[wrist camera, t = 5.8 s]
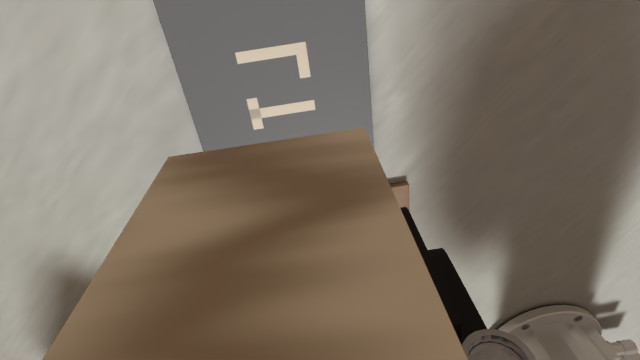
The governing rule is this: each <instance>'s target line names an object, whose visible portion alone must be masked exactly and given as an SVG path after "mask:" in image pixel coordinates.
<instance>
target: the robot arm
mask: <svg viewBox="0 0 640 360" xmlns="http://www.w3.org/2000/svg"><path fill="white" fill-rule="evenodd" d="M400 209H401V211H402V213H403V216H404V218H405V220H406V222H407V225H408V227H409V229H410V231H411V233H412V236H413V238H414V240H415V242H416V245H417V247H418V249H419V251H420V254H421V256H422V258H423V260H424V263H425V265H426V267H427V269H428V272H429V274H430V276H431V278H432V281H433V283H434V285H435V287H436V289H437V292H438V294H439V296H440V298H441V301H442V303H443V305H444V307H445V310H446V312H447V314H448V316H449V319H450V321H451V323H452V325H453V328H454V330H455V332H456V334H457V337H458V339H459V341H460V343H461V345H462V348H463V350H464V352H465V354H466V357H467V359H468V360H640V355H639V353H637V351H638V349H637V346H636V345H635V343H634V342H633V341H632V340H629V339H628V340H621V341H617V342H613V343H610V342H608V341H605V340H604V338H603V337H602V336H601V334H602V331H601V326H600V324H599V323H598V321H597V320H596V319H595V318H594V317H593V315H592V314H591V313H590V312H588V311H587V310H585V309H583V308H580V307H577V306H570V305H552V306H546V307H541V308H537V309H534V310H531V311H528V312H526V313H523V314H521V315H519V316H517V317H515V318H513V319H511V320H510V321H508V322H507V323H505V324H504V325H502V326H501V327H500V328H499V329H498V330H496V329H487V328H486V326H485V324H484V322H483V320H482V318H481V316H480V315H479V313H478V311H477V309H476V307H475V305H474V303H473V302H472V300H471V298H470V296H469V294H468V292H467V290H466V288H465V287H464V285H463V283H462V281H461V279H460V277H459V275H458V274H457V272H456V270H455V268H454V266H453V264H452V262H451V260H450V259H449V257H448V255H447V253H446V252H445V250H444V249H443V248H439V249H432V250H427V248H426V246H425V244H424V242H423V240H422V238H421V236H420V233H419V231H418V229H417V227H416V225H415V223H414V221H413V219H412V217H411V214H410V212H409V210H408V208H407V207H401V208H400Z"/></svg>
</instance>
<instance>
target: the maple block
mask: <svg viewBox="0 0 640 360" xmlns="http://www.w3.org/2000/svg"><path fill="white" fill-rule="evenodd" d="M43 360H468V359H467V357H466V354H465V352H464V350H463V348H462V345H461V343H460V341H459V339H458V337H457V334H456V332H455V330H454V328H453V325H452V323H451V321H450V319H449V316H448V314H447V312H446V310H445V307H444V305H443V303H442V301H441V298H440V296H439V294H438V292H437V289H436V287H435V285H434V283H433V281H432V278H431V276H430V274H429V272H428V269H427V267H426V265H425V263H424V260H423V258H422V256H421V254H420V251H419V249H418V247H417V245H416V242H415V240H414V238H413V236H412V233H411V231H410V229H409V227H408V225H407V222H406V220H405V218H404V216H403V213H402V211H401V209H400V207H399V204H398V202H397V200H396V198H395V195H394V193H393V191H392V189H391V186H390V184H389V182H388V180H387V177H386V175H385V173H384V171H383V169H382V166H381V164H380V162H379V160H378V157H377V155H376V153H375V151H374V148H373V146H372V144H371V142H370V139H369V137H368V135H367V133H366V130H365V128H364V127H362V128H356V129H349V130H343V131H336V132H330V133H323V134H316V135H310V136H303V137H297V138H290V139H284V140H277V141H271V142H264V143H257V144H251V145H244V146H238V147H231V148H225V149H218V150H211V151H205V152H198V153H192V154H185V155H179V156H172V157H168V159H167V160H166V162H165V164H164V165H163V167H162V168H161V170H160V172H159V173H158V175H157V176H156V178H155V180H154V181H153V183H152V184H151V186H150V188H149V189H148V191H147V193H146V194H145V196H144V197H143V199H142V201H141V202H140V204H139V205H138V207H137V209H136V210H135V212H134V213H133V215H132V217H131V218H130V220H129V221H128V223H127V225H126V226H125V228H124V229H123V231H122V233H121V234H120V236H119V237H118V239H117V241H116V242H115V244H114V246H113V247H112V249H111V250H110V252H109V254H108V255H107V257H106V258H105V260H104V262H103V263H102V265H101V266H100V268H99V270H98V271H97V273H96V274H95V276H94V278H93V279H92V281H91V282H90V284H89V286H88V287H87V289H86V290H85V292H84V294H83V295H82V297H81V299H80V300H79V302H78V303H77V305H76V307H75V308H74V310H73V311H72V313H71V315H70V316H69V318H68V319H67V321H66V323H65V324H64V326H63V327H62V329H61V331H60V332H59V334H58V335H57V337H56V339H55V340H54V342H53V343H52V345H51V347H50V348H49V350H48V352H47V353H46V355H45V356H44V358H43Z"/></svg>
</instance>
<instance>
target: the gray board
mask: <svg viewBox="0 0 640 360" xmlns="http://www.w3.org/2000/svg"><path fill="white" fill-rule="evenodd" d="M153 2H154V5H155V8H156V11H157V14H158V17H159V20H160V23H161V25H162V28H163V31H164V34H165V37H166V40H167V43H168V46H169V49H170V52H171V55H172V58H173V61H174V64H175V67H176V70H177V73H178V76H179V79H180V82H181V85H182V88H183V91H184V94H185V97H186V100H187V103H188V106H189V109H190V112H191V115H192V118H193V121H194V124H195V127H196V130H197V133H198V136H199V139H200V142H201V145H202V148H203V151H204V152H205V151H211V150H218V149H225V148H231V147H238V146H244V145H251V144H257V143H264V142H271V141H277V140H284V139H290V138H297V137H303V136H310V135H316V134H323V133H330V132H336V131H343V130H349V129H356V128H362V127H364V128H365V130H366V133H367V135H368V137H369V139H370V142H371V144H372V146H373V148H374V140H373V125H372V109H371V93H370V77H369V62H368V46H367V30H366V15H365V0H153Z"/></svg>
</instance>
